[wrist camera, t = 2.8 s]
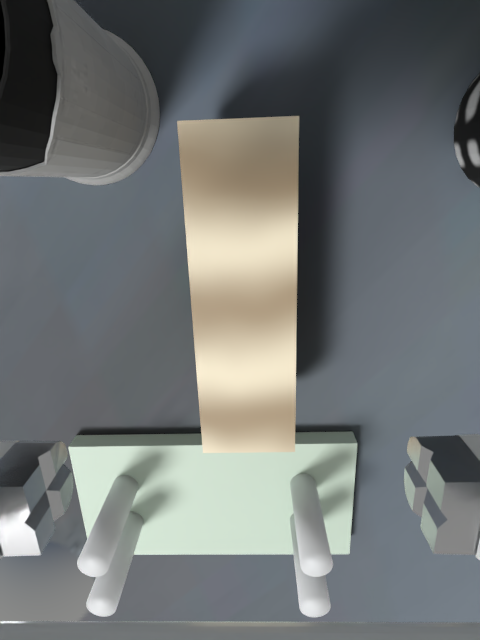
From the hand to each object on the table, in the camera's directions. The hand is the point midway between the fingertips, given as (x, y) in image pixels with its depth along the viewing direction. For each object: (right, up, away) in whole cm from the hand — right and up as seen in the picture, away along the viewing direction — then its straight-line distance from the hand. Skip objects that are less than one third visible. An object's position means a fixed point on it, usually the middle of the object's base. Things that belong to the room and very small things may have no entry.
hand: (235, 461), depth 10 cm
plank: (0, +5, +15) cm, 16 cm away
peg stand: (-2, -11, +24) cm, 26 cm away
